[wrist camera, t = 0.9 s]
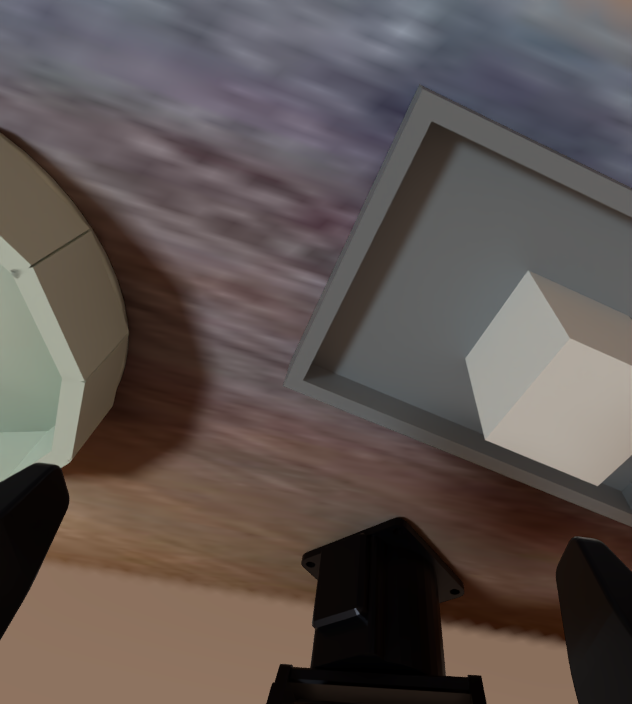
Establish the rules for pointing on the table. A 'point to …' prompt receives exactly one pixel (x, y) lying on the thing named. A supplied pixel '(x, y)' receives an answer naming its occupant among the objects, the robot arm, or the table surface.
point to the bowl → (52, 320)
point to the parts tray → (461, 282)
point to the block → (556, 380)
